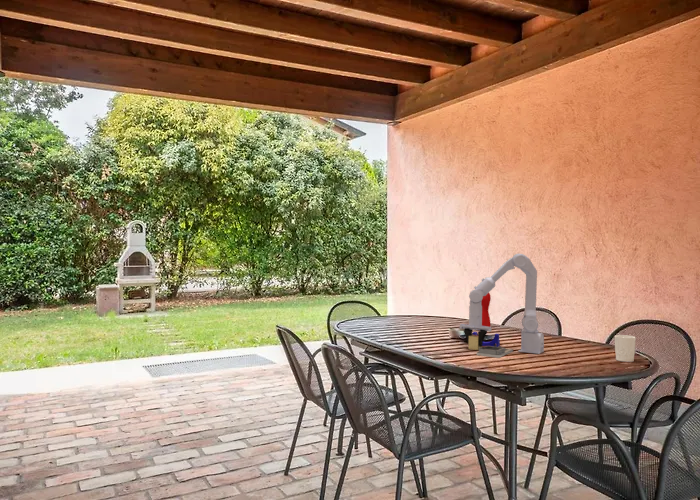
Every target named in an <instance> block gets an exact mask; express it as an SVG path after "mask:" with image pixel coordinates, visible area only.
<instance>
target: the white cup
mask: <svg viewBox="0 0 700 500" xmlns="http://www.w3.org/2000/svg"><path fill="white" fill-rule="evenodd" d="M614 352H615V360H616V361H619V362H624V363H631V362H635V361H634V360H635V353H636V336H633V335H626V334H616V335H614Z"/></svg>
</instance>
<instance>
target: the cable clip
mask: <svg viewBox="0 0 700 500" xmlns="http://www.w3.org/2000/svg"><path fill="white" fill-rule="evenodd" d="M472 335H478V331H477V332H476V331H472ZM500 345H501V340H500V333H495V334H494V337H493V339H492V340H491V341H483V344H482V347H484V346H494V347H500Z"/></svg>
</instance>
